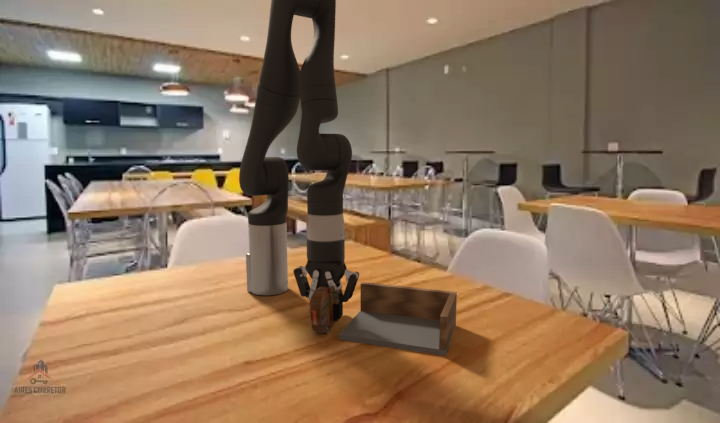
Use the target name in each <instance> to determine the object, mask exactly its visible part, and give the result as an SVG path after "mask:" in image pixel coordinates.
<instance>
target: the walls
mask: <svg viewBox="0 0 720 423" xmlns="http://www.w3.org/2000/svg"><path fill="white" fill-rule="evenodd" d="M457 297H458V292H457V291H452V290H441V289H433V288H432V289H431V288H422V287H414V286H404V285H395V284H394V285H393V284H385V283H378V282H376V283H374V282H365V281H362V282H361V283H360V311H367V312H375V313H383V314H391V315H399V316H407V317H414V318H422V319H430V320H438V321H440V336H439V349H440V350H446V349H447V346H448V343H449V340H450V337H451V334H452V331H453V328H454V325H455V322H456V323H457V305H458V304H457Z"/></svg>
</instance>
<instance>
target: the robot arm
mask: <svg viewBox="0 0 720 423" xmlns="http://www.w3.org/2000/svg"><path fill="white" fill-rule="evenodd" d="M336 3H337V0H271V1H270V9H269V19H268V28H267V37H266V44H265V50H264V55H263V60H262V66H261V70H260V74H259V75H260V76H259V80H258V85H257V91H256V95H255V103H254V109H253V115H252V120H251V125H250V130H249V133H248V134H249V135H248V138H247V141H246V145H245V148H244V152H243V155H242V159H241V163H240V166H239V174H238V175H239V176H238V182H239V188H240V190H241V192H242V193H243V194H244V195H246V196H250V197H251V196H254V197H255V196H256V197H257V196H260V197H261V196H267V197H266V200H265V201H264V202H263V203H261V205H259V206H257V207H255V208H252V209H251V210H250V211H248V213H247V228H248V251H249V252H247V253H246V254H245V265H246V266H245V267H246V268H245V269H246V291H247V292H249V293H252V294H253V295H257V296H274V295H275V296H276V295H280V294H284V293H285V292H286V291H288V290H289V278H288V276H289V275H288V274H289V273H288V265H289V264H288V236H287V235H288V232H287V231H288V228H287V227H288V225H287V215H288V210H289V186H290V184H289V183H290V182H289V181H290V180H289V179H290V178H289V169H288V165H287V162H286V160H284V158H282V157H279V156H266V155H267V153H268V150H269V149H270V147H271V145H272V143H273V142H274V140H276V139H277V137H278V136H279V135H280V134H281V133H282V132H283V131H284V130H285V128H287V126H288V125H289V124H290V123H291V121H293V119H294V117H296V115H297V112H298V108H299V105H300V108H301V118H300V128H299V132H298V139H297V146H296V156H297V157H296V158H297V160H298V162H299V164H300V165H301V166H302V168H303V169H305V170H307V171H315V172H316V171H327V172H326V174H325V177H324V179H322V180H320V181H318V182H314V183H311V184H310V185H309V186H308V187H307V191H306V194H307V195H306V198H307V199H306V200H307V201H306V202H307V204H306V206H307V211H306V213H307V215H306V216H307V217H306V228H305V229H306V232H305V233H306V259H307V261H306V264H305V265H304V266H302V265H300V266H297V267H296V268H294V269H293V274H294V278H295V281H296V285H297V287H298V291H299V293H300V296H301V297H302V298H307V299H308V300H309V302H310V301H311V297H312V295H313V293H314V292H315V290H316V289H317V288H318V287H319V286H327V287H329V289H330V292H331V293H332V296H333V300H334V304H333V321H336V322H338V321H339V320H340V319H341V318H342V316H343V314H344V313H343V312H344V308H343V307H344V306H343V305H344V303H347V302H349V300H350V299H351V298H352V297H353V295H354V291H355V290H356V286H357V283H358V281H359V277H360V272H359V271H352V270H350V269H347V264H346V263H345V260H346V259H345V258H346V252H345V248H346V247H345V244H346V240H345V236H346V229H345V225H346V224H345V218H344V192H345V187H346V182H347V178H348V175H349V171H350V166H351V165H352V164H351V163H352V160H353V149H352V145H351V142H350V140H349V139H348V138H347V136H345V135H344V134H342V133H320V126H321V125H323V124H325V123H330V122H333V121H335V120H336V119H337V117H338V115H339V107H338V106H339V105H338V98H337V97H338V96H337V88H336V80H335V79H336V78H335V65H334V64H335V39H336V37H335V35H336V33H335V32H336V12H337V11H336V9H337V4H336ZM295 16H297V17H302V18H308V19H311V20H312V24H313V40H312V43H311V45H310V48H309V50H308V52H307V54H306V56H305V58H304V60H303V63H302V65H301V68H300V66H299V63H298V61H297V58H296V54H295V52H294V48H293V44H292V27H293V21H294V17H295ZM308 275H309V277H310V278H311V283H309V280H308V277H307V276H308ZM344 276H345V281H346V286H345V289H344V291H343V284H342V280H341V279H342V278H343V277H344Z"/></svg>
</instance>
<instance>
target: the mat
mask: <svg viewBox="0 0 720 423" xmlns="http://www.w3.org/2000/svg"><path fill="white" fill-rule="evenodd" d="M456 325H457V321H456V322H455V325H454V328H453V331H452V334H451V337H450V340H449V343H448V346H447V349H446V350H440V349H439V336H440V321H438V320H430V319H422V318H414V317H407V316H399V315H391V314H383V313H375V312H367V311H361V310H360V311H358V313H357V314H356V315H355V316H354V317H353V318H352V319H351V320H350V321H349V322H348V324H347V325H346V326H345V327H344V328H343V329H342V330H341V331H340V332H339V333H338V334H337V335H338V341H346V342H353V343H360V344H365V345H373V346H379V347H386V348H393V349H397V350H398V349H399V350H406V351H412V352H419V353H424V354H425V353H426V354H433V355H436V356H437V355H439V356H444V357H446V356H447V353H448V351H449V347H450V344H451V342H452V339H453V335H454V332H455V329H456Z"/></svg>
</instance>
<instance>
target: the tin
mask: <svg viewBox="0 0 720 423" xmlns="http://www.w3.org/2000/svg"><path fill="white" fill-rule="evenodd" d="M333 304H334V300H333V296H332V293H331V292H330V289H329V287H327V286H319V287H318V288H317V289H316V290H315V292H314V293H313V295H312V297H311V301H310V300H309V314H310V327H311V330H312V331H313V332H314V333H317V334H329V333H330V331H331V330H332V328H333V327H334V325H335V323H336V322H337V321H333Z"/></svg>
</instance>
